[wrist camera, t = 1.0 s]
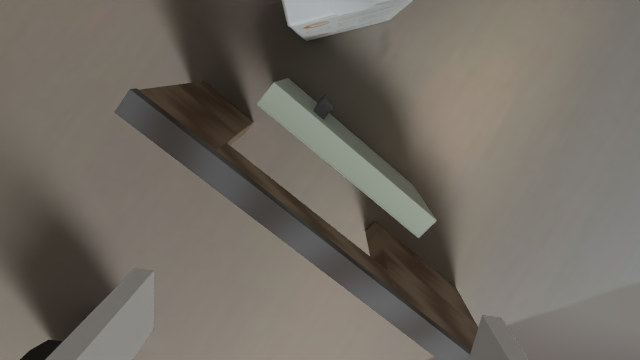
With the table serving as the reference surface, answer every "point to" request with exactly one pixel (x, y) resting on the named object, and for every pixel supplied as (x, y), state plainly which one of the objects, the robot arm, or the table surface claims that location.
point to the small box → (337, 15)
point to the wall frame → (303, 217)
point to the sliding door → (346, 153)
